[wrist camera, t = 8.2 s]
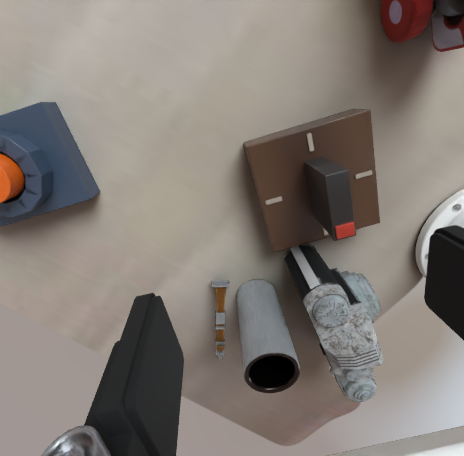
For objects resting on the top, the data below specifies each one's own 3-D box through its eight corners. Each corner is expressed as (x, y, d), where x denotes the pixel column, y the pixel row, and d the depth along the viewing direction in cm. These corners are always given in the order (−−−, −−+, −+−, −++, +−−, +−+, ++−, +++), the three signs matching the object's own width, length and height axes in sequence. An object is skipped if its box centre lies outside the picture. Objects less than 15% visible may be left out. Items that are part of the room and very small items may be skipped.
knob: (303, 161, 24) (326, 176, 19) (323, 156, 24) (350, 170, 19) (313, 216, 26) (335, 242, 21) (331, 211, 25) (357, 236, 21)
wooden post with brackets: (212, 345, 34) (211, 362, 29) (212, 276, 34) (211, 283, 29) (227, 344, 34) (229, 362, 29) (227, 276, 34) (229, 283, 29)
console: (353, 108, 25) (371, 109, 22) (364, 211, 29) (381, 223, 26) (243, 142, 26) (246, 147, 23) (268, 238, 30) (274, 253, 27)
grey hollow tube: (232, 282, 32) (239, 358, 22) (273, 275, 31) (298, 348, 22) (239, 314, 33) (248, 398, 24) (278, 307, 33) (302, 389, 24)
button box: (55, 102, 24) (26, 102, 20) (100, 191, 27) (82, 205, 23) (-53, 138, 24) (-100, 144, 21) (3, 221, 28) (-30, 239, 24)
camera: (372, 326, 35) (427, 404, 26) (319, 345, 36) (354, 428, 27) (339, 225, 29) (395, 280, 20) (278, 250, 30) (304, 314, 21)
